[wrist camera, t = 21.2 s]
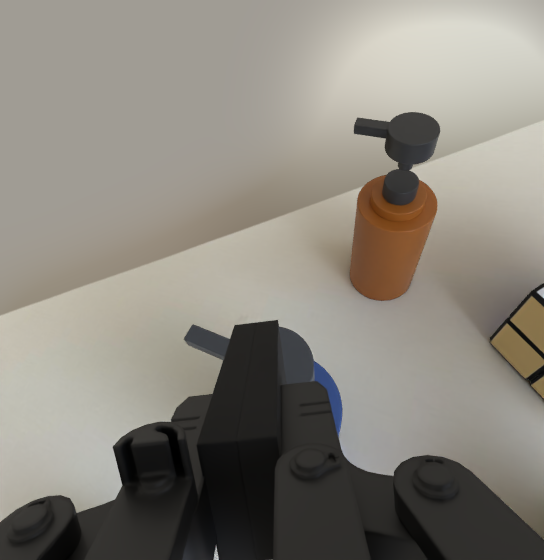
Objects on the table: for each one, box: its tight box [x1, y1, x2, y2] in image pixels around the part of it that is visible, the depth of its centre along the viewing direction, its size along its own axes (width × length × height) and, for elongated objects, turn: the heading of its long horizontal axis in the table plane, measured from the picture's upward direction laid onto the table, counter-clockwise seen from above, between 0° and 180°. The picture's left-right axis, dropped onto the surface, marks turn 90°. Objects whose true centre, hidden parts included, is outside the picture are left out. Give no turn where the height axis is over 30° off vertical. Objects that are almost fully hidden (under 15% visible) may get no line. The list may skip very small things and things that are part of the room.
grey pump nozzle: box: [184, 324, 315, 384], centre depth 21 cm, size 7×4×4 cm, turn 65°
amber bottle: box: [350, 169, 437, 301], centre depth 39 cm, size 7×7×14 cm
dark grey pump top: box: [354, 112, 440, 171], centre depth 31 cm, size 6×4×4 cm, turn 70°
